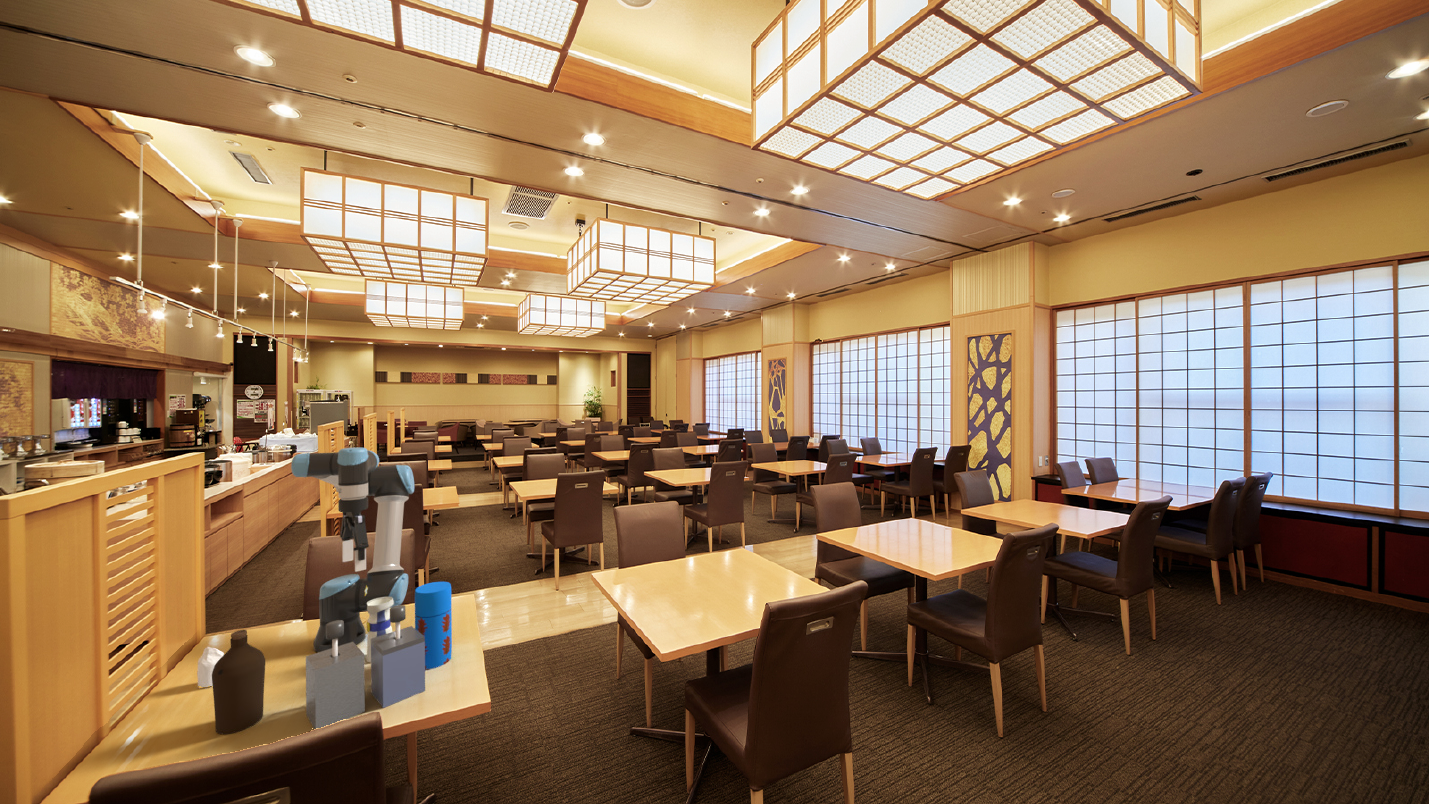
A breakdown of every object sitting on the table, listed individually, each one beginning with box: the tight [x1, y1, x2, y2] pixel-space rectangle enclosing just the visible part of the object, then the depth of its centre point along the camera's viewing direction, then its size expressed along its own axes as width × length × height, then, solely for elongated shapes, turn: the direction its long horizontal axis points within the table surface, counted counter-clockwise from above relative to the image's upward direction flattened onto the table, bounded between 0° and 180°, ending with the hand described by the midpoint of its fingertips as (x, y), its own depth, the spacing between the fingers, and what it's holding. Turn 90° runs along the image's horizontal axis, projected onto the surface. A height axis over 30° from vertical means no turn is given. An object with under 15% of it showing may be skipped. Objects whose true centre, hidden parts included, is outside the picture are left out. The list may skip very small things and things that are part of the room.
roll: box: [196, 646, 225, 687], centre depth 155 cm, size 6×12×6 cm
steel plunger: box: [326, 620, 344, 658], centre depth 140 cm, size 8×8×20 cm
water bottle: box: [365, 586, 394, 664], centre depth 171 cm, size 8×9×25 cm
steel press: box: [305, 642, 366, 730], centre depth 141 cm, size 15×11×16 cm
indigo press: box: [370, 625, 426, 709], centre depth 151 cm, size 15×11×16 cm
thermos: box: [414, 581, 453, 670], centre depth 168 cm, size 11×11×25 cm
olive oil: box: [212, 629, 266, 735], centre depth 136 cm, size 11×11×25 cm
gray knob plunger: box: [390, 604, 407, 640], centre depth 150 cm, size 8×8×20 cm
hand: (354, 565), depth 155 cm, fingers open, 13 cm apart
